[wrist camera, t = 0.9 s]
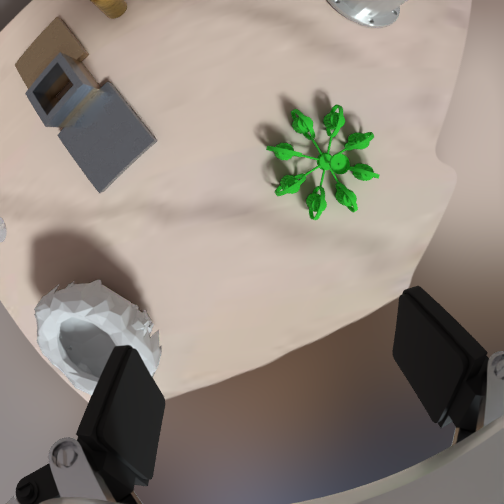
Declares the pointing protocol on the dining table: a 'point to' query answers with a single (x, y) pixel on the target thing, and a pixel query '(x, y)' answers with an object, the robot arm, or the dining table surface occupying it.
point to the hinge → (82, 107)
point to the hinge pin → (111, 7)
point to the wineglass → (2, 230)
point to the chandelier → (324, 161)
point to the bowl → (91, 331)
